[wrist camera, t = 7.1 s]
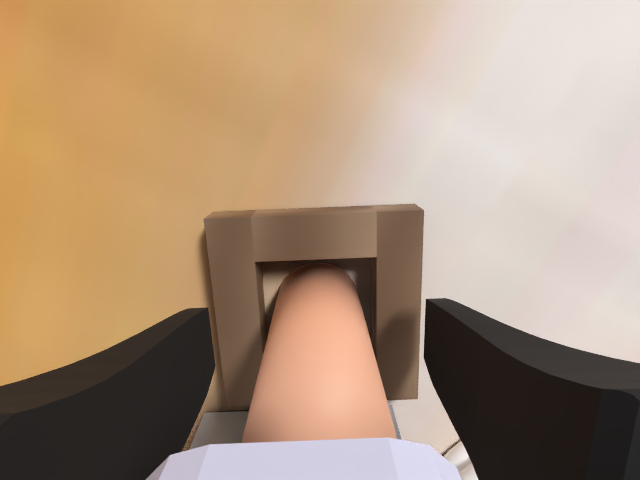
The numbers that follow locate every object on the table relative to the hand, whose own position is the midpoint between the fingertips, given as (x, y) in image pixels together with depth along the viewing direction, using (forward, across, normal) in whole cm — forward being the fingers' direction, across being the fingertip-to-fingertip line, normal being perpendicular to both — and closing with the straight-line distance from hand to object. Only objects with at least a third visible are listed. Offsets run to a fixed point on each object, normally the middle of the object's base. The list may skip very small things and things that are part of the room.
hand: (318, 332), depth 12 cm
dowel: (+2, 0, 0) cm, 2 cm away
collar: (+2, 0, 0) cm, 2 cm away
